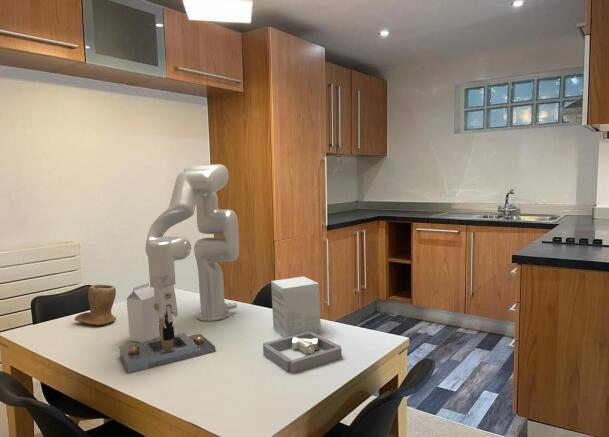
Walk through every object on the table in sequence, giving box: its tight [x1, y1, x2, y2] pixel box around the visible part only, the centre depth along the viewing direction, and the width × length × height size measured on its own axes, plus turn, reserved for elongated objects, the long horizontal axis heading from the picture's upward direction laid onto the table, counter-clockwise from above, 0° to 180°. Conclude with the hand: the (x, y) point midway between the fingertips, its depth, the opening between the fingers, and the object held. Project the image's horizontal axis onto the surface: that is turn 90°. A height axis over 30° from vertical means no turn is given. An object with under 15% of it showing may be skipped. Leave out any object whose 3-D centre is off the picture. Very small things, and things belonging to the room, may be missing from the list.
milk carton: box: [126, 282, 160, 343], centre depth 152 cm, size 7×7×19 cm
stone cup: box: [73, 284, 117, 326], centre depth 174 cm, size 15×12×15 cm
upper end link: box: [118, 332, 198, 374], centre depth 137 cm, size 20×15×5 cm
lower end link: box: [148, 333, 216, 369], centre depth 140 cm, size 20×15×3 cm
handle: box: [154, 303, 174, 351], centre depth 138 cm, size 5×6×15 cm
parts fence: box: [262, 332, 343, 374], centre depth 132 cm, size 18×18×3 cm
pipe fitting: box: [291, 337, 320, 356], centre depth 136 cm, size 8×4×7 cm
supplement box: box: [270, 276, 322, 338], centre depth 154 cm, size 13×13×18 cm
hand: (167, 336), depth 138 cm, fingers closed on handle, 3 cm apart
